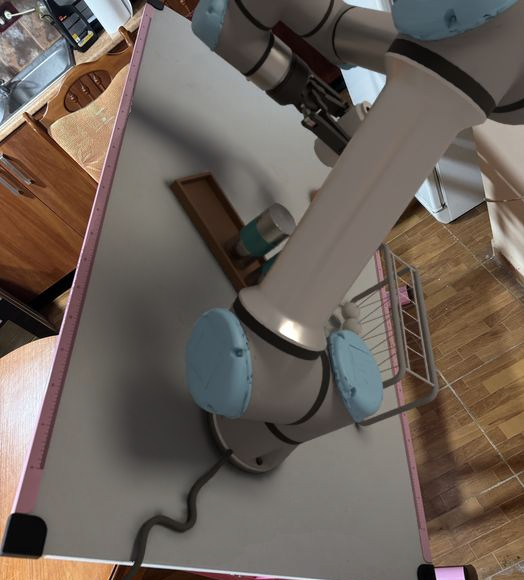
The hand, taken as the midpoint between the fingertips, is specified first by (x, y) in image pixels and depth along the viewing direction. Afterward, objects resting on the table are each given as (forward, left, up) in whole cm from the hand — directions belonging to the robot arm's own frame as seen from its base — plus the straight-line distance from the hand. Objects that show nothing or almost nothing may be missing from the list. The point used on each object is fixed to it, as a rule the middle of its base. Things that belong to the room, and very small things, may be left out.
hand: (367, 148), depth 104 cm
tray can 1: (-23, -4, -22) cm, 32 cm away
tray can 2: (-23, -11, -22) cm, 34 cm away
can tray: (-23, -2, -22) cm, 32 cm away
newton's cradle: (-13, -29, -22) cm, 39 cm away
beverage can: (-4, +4, -7) cm, 8 cm away
